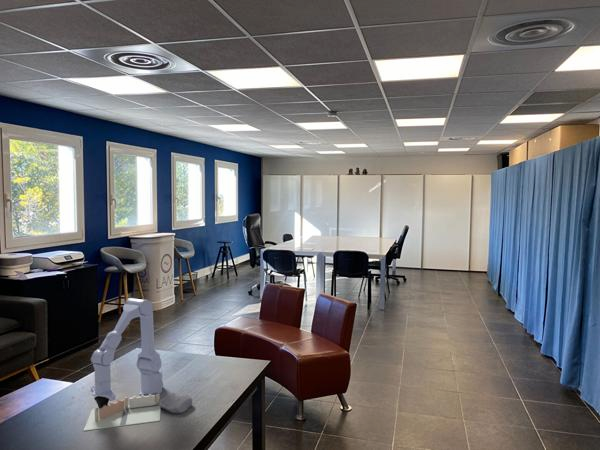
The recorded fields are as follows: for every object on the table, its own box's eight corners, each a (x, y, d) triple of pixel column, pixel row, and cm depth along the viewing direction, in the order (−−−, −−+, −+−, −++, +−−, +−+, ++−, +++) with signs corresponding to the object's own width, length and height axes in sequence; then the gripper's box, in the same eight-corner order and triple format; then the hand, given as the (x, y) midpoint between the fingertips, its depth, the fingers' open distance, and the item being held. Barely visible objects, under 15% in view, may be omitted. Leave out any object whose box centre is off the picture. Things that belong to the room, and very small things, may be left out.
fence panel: (122, 408, 174) (122, 397, 174) (124, 409, 173) (124, 398, 173) (94, 420, 165) (93, 408, 165) (95, 421, 164) (95, 409, 164)
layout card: (161, 401, 182) (161, 400, 182) (159, 421, 166) (159, 420, 166) (92, 409, 174) (92, 408, 174) (83, 431, 158) (83, 430, 158)
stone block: (180, 419, 170) (194, 403, 179) (179, 408, 169) (193, 393, 178) (156, 414, 174) (170, 399, 183) (154, 404, 173) (169, 389, 182)
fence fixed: (160, 404, 179) (159, 392, 179) (159, 406, 178) (159, 394, 177) (124, 408, 175) (124, 396, 175) (124, 410, 174) (124, 398, 174)
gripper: (83, 378, 169) (83, 412, 169) (103, 387, 160) (103, 423, 161) (100, 373, 175) (100, 405, 175) (120, 381, 166) (120, 415, 167)
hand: (103, 413), depth 168 cm, fingers closed
